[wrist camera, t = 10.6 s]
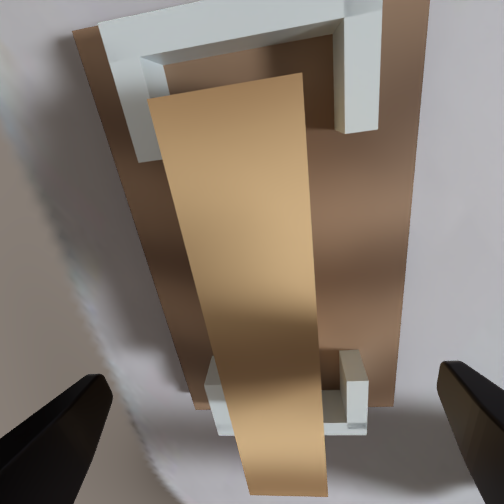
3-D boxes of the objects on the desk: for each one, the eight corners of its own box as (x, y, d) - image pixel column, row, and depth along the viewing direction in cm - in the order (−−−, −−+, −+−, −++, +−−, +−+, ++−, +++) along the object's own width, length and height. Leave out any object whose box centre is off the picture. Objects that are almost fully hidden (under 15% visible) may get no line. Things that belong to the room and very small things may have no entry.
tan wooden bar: (211, 103, 11) (146, 99, 6) (291, 90, 11) (302, 72, 5) (259, 372, 17) (250, 495, 12) (312, 371, 17) (328, 497, 11)
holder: (91, 38, 12) (28, 15, 9) (417, -29, 10) (472, -85, 7) (200, 393, 20) (186, 441, 17) (386, 389, 18) (406, 441, 16)
